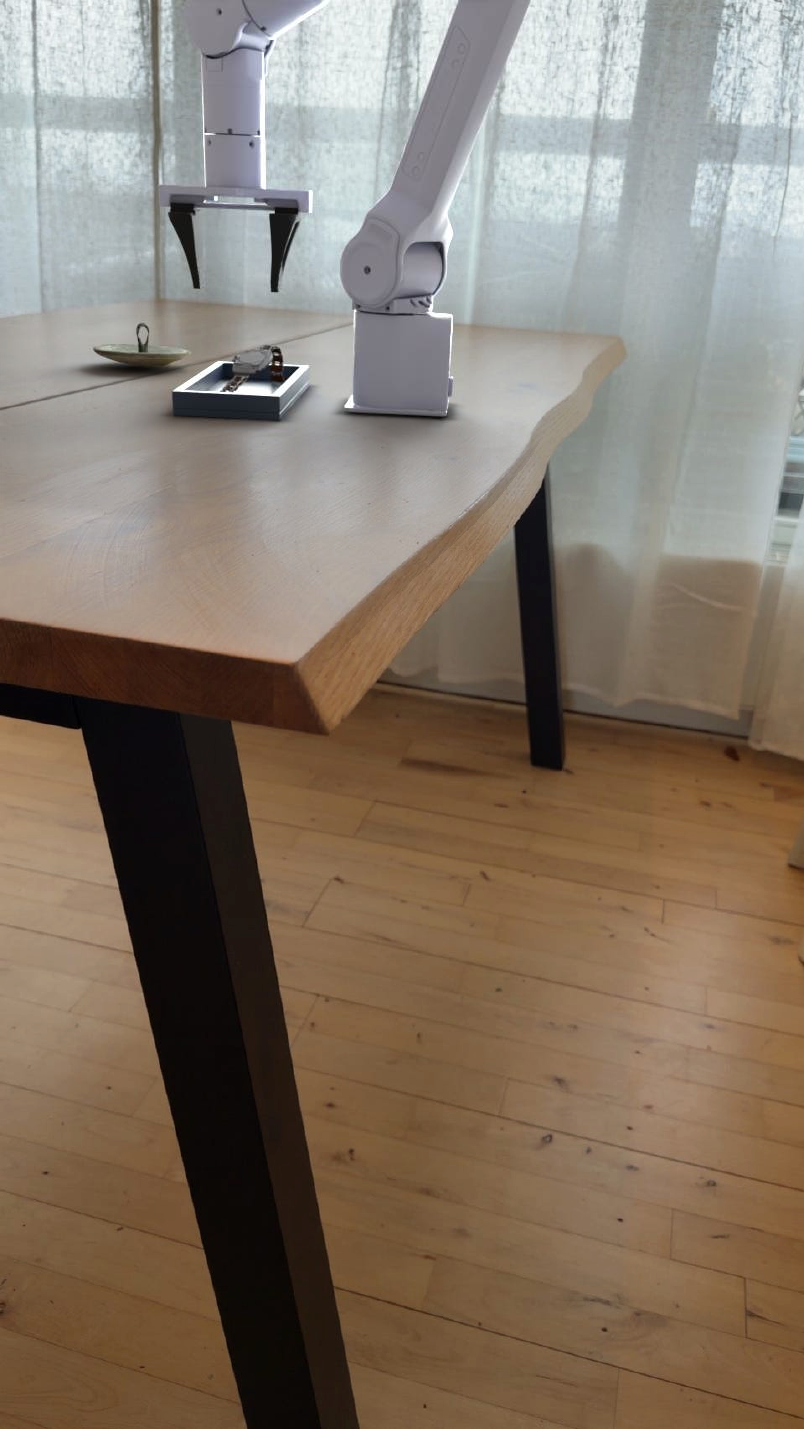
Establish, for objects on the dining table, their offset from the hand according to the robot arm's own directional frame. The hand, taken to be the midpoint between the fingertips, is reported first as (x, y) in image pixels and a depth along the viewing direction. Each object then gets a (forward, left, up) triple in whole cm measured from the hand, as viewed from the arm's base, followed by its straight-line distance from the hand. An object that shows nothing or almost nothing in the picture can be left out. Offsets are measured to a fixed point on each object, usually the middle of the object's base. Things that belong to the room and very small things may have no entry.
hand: (237, 290), depth 113 cm
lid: (+14, -10, -10) cm, 20 cm away
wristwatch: (-2, +7, -9) cm, 12 cm away
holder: (-2, +7, -9) cm, 12 cm away
